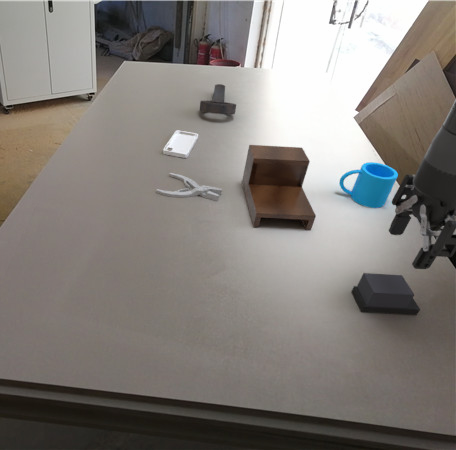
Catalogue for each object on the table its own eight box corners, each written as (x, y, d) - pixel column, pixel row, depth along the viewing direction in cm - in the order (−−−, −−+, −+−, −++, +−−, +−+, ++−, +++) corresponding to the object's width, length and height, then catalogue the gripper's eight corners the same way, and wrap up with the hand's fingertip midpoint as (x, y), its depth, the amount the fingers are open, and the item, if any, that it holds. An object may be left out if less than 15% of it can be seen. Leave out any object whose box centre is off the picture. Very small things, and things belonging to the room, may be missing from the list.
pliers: (170, 169, 107) (225, 182, 102) (170, 174, 108) (224, 188, 103) (156, 187, 99) (215, 202, 95) (156, 192, 100) (214, 208, 96)
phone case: (186, 158, 115) (198, 137, 127) (187, 154, 114) (199, 133, 126) (162, 154, 117) (175, 133, 128) (162, 149, 116) (176, 129, 127)
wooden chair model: (291, 185, 106) (302, 147, 99) (310, 230, 91) (325, 188, 84) (241, 183, 106) (249, 144, 99) (253, 227, 91) (263, 185, 84)
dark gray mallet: (202, 104, 162) (198, 111, 135) (204, 82, 159) (201, 85, 131) (232, 107, 161) (235, 115, 133) (235, 85, 158) (239, 88, 130)
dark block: (404, 294, 76) (415, 275, 73) (416, 315, 72) (429, 295, 69) (351, 291, 76) (360, 272, 73) (361, 312, 72) (371, 292, 69)
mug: (381, 193, 105) (394, 165, 100) (387, 210, 98) (401, 181, 93) (333, 185, 107) (343, 157, 102) (336, 201, 101) (347, 173, 96)
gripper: (516, 190, 51) (452, 282, 61) (453, 141, 62) (408, 224, 72) (457, 187, 51) (403, 279, 61) (405, 138, 62) (366, 222, 72)
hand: (406, 249), depth 66 cm, fingers open, 8 cm apart
